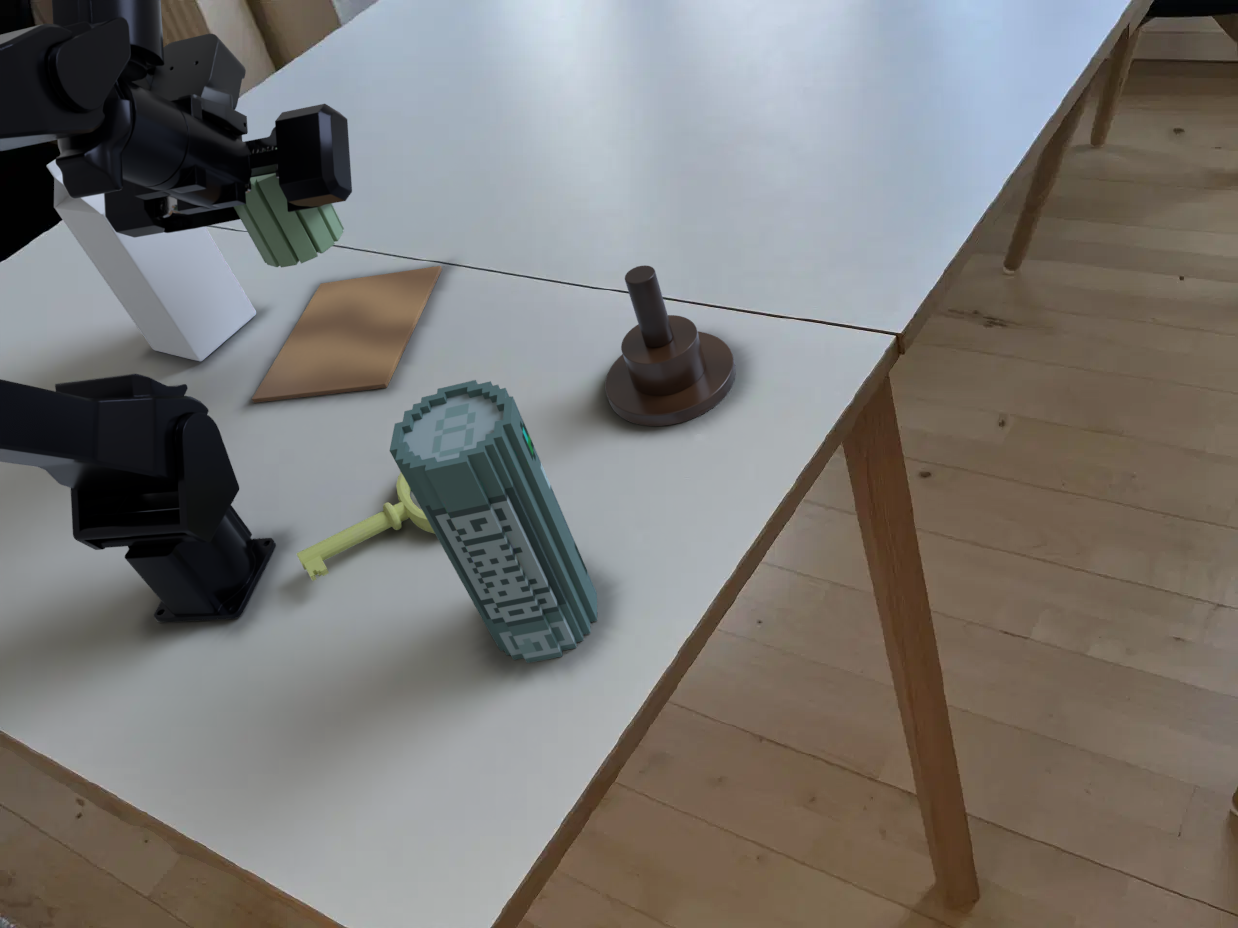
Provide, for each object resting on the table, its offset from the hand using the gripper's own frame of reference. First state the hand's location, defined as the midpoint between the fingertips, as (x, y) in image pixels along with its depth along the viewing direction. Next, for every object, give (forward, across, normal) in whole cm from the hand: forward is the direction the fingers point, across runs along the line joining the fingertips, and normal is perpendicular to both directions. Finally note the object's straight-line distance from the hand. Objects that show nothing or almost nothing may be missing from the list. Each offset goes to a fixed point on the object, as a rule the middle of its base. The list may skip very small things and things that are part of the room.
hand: (293, 202), depth 83 cm
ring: (+1, 0, +3) cm, 3 cm away
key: (-9, -12, +26) cm, 30 cm away
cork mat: (+7, 0, +9) cm, 12 cm away
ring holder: (0, -29, +17) cm, 34 cm away
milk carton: (+10, +16, +7) cm, 20 cm away
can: (-14, -24, +31) cm, 42 cm away
